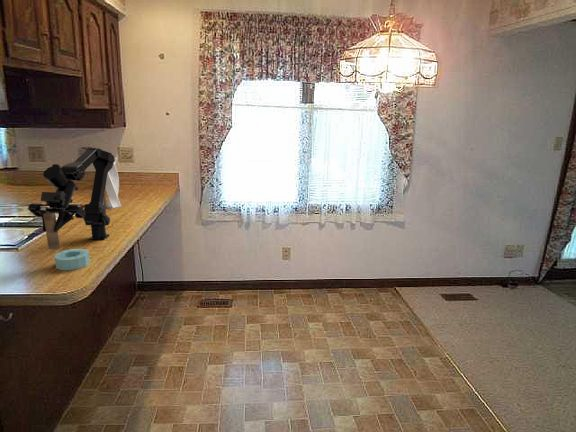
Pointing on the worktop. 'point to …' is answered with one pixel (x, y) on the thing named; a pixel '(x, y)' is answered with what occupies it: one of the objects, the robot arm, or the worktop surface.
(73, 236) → the worktop surface
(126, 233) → the worktop surface
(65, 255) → the bead
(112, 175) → the skyscraper
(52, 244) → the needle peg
